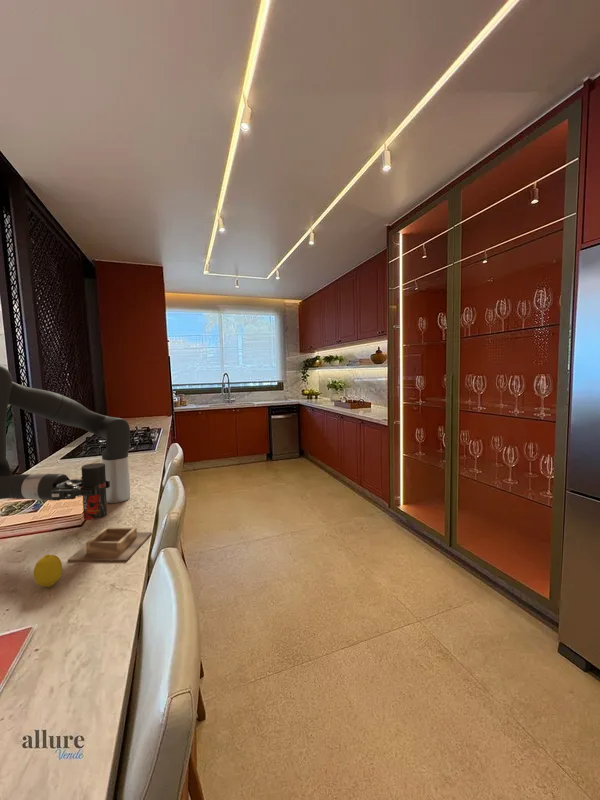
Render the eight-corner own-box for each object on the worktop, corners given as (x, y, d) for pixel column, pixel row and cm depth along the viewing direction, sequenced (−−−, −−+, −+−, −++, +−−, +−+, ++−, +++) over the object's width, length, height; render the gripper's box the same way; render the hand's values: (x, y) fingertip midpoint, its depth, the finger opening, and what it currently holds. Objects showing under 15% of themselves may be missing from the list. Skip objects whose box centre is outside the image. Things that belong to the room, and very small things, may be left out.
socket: (101, 534, 110) (101, 523, 109) (151, 534, 110) (151, 523, 109) (67, 561, 94) (66, 548, 93) (126, 561, 94) (125, 549, 93)
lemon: (68, 582, 84) (66, 551, 84) (45, 596, 79) (43, 562, 79) (52, 578, 86) (50, 547, 86) (28, 591, 81) (26, 558, 80)
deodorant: (111, 512, 104) (109, 463, 103) (97, 520, 98) (95, 469, 97) (93, 511, 105) (91, 462, 103) (78, 519, 99) (76, 468, 98)
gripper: (25, 482, 93) (86, 483, 93) (62, 467, 108) (116, 468, 107) (26, 509, 94) (87, 510, 94) (64, 490, 108) (117, 491, 108)
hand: (102, 487), depth 101 cm, fingers closed on deodorant, 6 cm apart
